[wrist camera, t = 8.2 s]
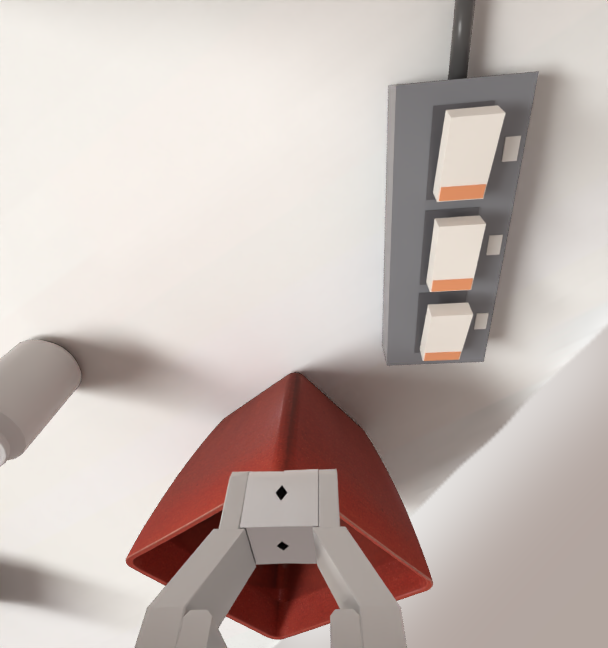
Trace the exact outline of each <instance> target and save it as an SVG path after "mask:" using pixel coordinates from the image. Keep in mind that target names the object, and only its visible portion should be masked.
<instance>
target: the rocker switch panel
mask: <svg viewBox="0 0 608 648" xmlns="http://www.w3.org/2000/svg"><path fill="white" fill-rule="evenodd" d="M474 7H475V0H455V9H454V20H453V31H452V42H451V53H450V64H449V75H448V80H443V81H432V82H422V83H411V84H401V85H390V86H388V123H387V164H386V205H385V246H384V287H383V328H382V347H383V351H384V355H385V360H386V364H387V365H411V364H436V363H462V362H484V357H485V352H486V347H487V341H488V336H489V331H490V325H491V320H492V315H493V310H494V304H495V299H496V294H497V289H498V283H499V278H500V273H501V267H502V262H503V257H504V252H505V246H506V241H507V236H508V231H509V225H510V220H511V215H512V209H513V204H514V199H515V194H516V188H517V183H518V178H519V173H520V167H521V162H522V157H523V151H524V146H525V141H526V136H527V130H528V125H529V120H530V115H531V109H532V104H533V99H534V93H535V88H536V83H537V78H538V72H539V71H537V72H527V73H516V74H505V75H495V76H484V77H474V78H467V70H468V61H469V52H470V43H471V34H472V25H473V16H474ZM496 105H498V106H499V107H500V108H501V109H502V110H503V111H504V112H505V117H504V121H503V125H502V129H501V132H500V136H499V140H498V144H497V148H496V152H495V156H494V160H493V163H492V167H491V171H490V175H489V179H488V183H487V187H486V190H485V194H484V198H483V199H472V200H458V201H444V202H437V201H436V199H435V196H434V194H433V189H434V182H435V176H436V169H437V163H438V157H439V150H440V144H441V137H442V131H443V125H444V118H445V112H446V110H451V109H462V108H473V107H485V106H496ZM478 215H480V216H481V218H482V219H483V220H484V222H485V223H486V226H485V231H484V235H483V240H482V244H481V249H480V253H479V258H478V262H477V267H476V271H475V276H474V280H473V284H472V289H471V290H460V291H441V292H430V291H429V288H428V286H427V283H426V280H427V273H428V265H429V258H430V250H431V243H432V235H433V228H434V220H435V218H449V217H463V216H478ZM448 303H469V305H470V308H471V310H472V313H473V317H472V320H471V323H470V326H469V330H468V333H467V336H466V339H465V343H464V346H463V349H462V352H461V356H460V359H459V360H436V361H423V360H422V356H421V352H420V345H421V339H422V334H423V329H424V324H425V318H426V313H427V308H428V305H429V304H448Z"/></svg>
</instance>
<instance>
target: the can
mask: <svg viewBox="0 0 608 648" xmlns="http://www.w3.org/2000/svg"><path fill="white" fill-rule="evenodd" d="M80 382H81V371H80V368H79V366H78V364H77V362H76V360H75V359H74V357H73V356H72V355H71V354H70V353H69V352H68V351H67V350H65V349H64V348H63V347H61V346H59V345H57V344H54V343H51V342H47V341H42V340H26V341H23V342H20V343H19V344H17V345H16V346H15V347H14V348H13V349H11V350H10V351H9V352H8V353H7V354H5V355H4V356H3V357H2V358H1V359H0V466H1V465H3V464H4V463H6V461H7V460H11V459H15V458H17V457H18V456H20V455H21V454H23V452H24V451H25V450H26V449H27V448H28V446H29V445H30V444H31V443H32V442H33V440H34V439H35V438H36V437H37V436H38V434H39V433H40V432H41V431H42V430H43V428H44V427H45V426H46V425H47V424H48V422H49V421H50V420H51V419H52V418H53V416H54V415H55V414H56V413H57V412H58V410H59V409H60V408H61V407H62V406H63V404H64V403H65V402H66V401H67V399H68V398H69V397H70V396H71V395H72V393H73V392H74V391H75V390H76V389H77V387H78V386H79V384H80Z"/></svg>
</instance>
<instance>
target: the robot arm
mask: <svg viewBox="0 0 608 648" xmlns="http://www.w3.org/2000/svg"><path fill="white" fill-rule="evenodd" d="M282 563H298V564H317V566H318V568H319V570H320V572H321V573H322V575H323V577H324V579H325V581H326V583H327V585H328V587H329V589H330V591H331V593H332V594H333V596H334V598H335V600H336V602H337V604H338V606H339V608H340V609H335V610H334V611H333V613H332V614H331V615H330V634H331V635H330V636H331V648H407V644H406V638H405V631H404V625H403V619H402V612H401V607H400V606H399V604H398V603H397V601H396V600H395V598H394V597H393V595H392V594H391V592H390V591H389V590H388V588H387V587H386V585H385V584H384V582H383V581H382V579H381V578H380V576H379V575H378V573H377V572H376V571H375V569H374V568H373V566H372V565H371V563H370V562H369V560H368V559H367V557H366V556H365V555H364V553H363V552H362V550H361V549H360V547H359V546H358V544H357V543H356V541H355V540H354V538H353V537H352V536H351V534H350V533H349V531H348V530H347V528H346V527H340V517H339V498H338V479H337V469H324V470H318V469H308V470H286V471H256V472H250V471H246V472H232V474H231V476H230V478H229V483H228V487H227V492H226V497H225V501H224V506H223V511H222V516H221V520H220V525H219V529H213V530H212V531H211V533H210V534H209V535H208V536H207V537H206V539H205V540H204V541H203V542H202V543H201V545H200V546H199V547H198V548H197V549H196V550H195V552H194V553H193V554H192V555H191V556H190V558H189V559H188V560H187V561H186V562H185V564H184V565H183V566H182V567H181V568H180V569H179V571H178V572H177V573H176V574H175V575H174V577H173V578H172V579H171V580H170V581H169V583H168V584H167V585H166V586H165V587H164V588H163V590H162V591H161V592H160V593H159V594H158V596H157V597H156V598H155V599H154V600H153V602H152V603H151V604H150V605H149V606H148V607H147V610H146V613H145V616H144V619H143V622H142V626H141V629H140V632H139V635H138V638H137V641H136V645H135V648H227V646H226V644H225V642H224V640H223V638H222V636H221V634H220V631H219V629H218V628H219V626H220V625H221V623H222V621H223V620H224V618H225V616H226V615H227V613H228V612H229V610H230V608H231V607H232V605H233V603H234V602H235V600H236V599H237V597H238V595H239V594H240V592H241V590H242V589H243V587H244V585H245V584H246V582H247V581H248V579H249V577H250V576H251V574H252V572H253V571H254V569H255V568H256V565H258V564H282Z"/></svg>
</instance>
